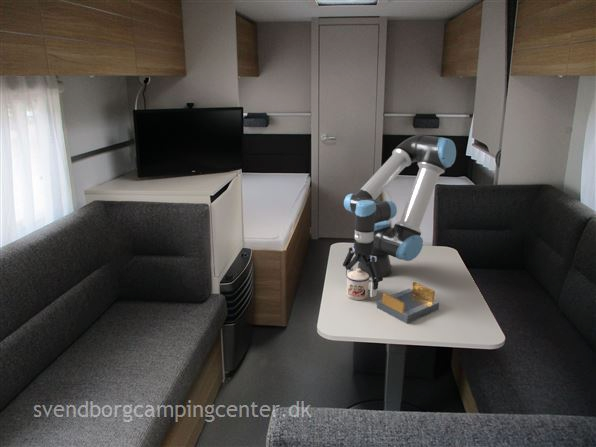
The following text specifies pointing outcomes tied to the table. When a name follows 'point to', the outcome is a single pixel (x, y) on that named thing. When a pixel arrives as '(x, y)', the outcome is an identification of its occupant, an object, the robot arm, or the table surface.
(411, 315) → the grey tray
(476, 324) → the table surface
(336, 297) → the table surface
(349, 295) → the teacup with lid
